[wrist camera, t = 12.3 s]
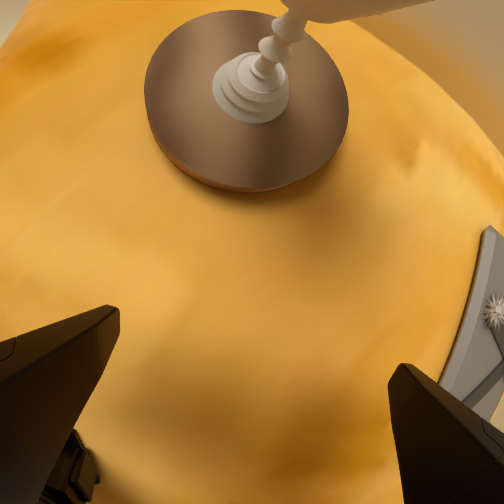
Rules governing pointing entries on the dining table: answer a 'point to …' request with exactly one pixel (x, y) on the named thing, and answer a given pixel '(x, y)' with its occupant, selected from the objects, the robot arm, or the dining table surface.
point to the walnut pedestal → (235, 131)
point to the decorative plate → (481, 334)
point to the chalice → (283, 57)
